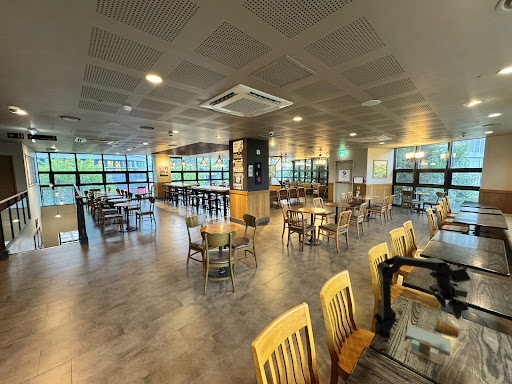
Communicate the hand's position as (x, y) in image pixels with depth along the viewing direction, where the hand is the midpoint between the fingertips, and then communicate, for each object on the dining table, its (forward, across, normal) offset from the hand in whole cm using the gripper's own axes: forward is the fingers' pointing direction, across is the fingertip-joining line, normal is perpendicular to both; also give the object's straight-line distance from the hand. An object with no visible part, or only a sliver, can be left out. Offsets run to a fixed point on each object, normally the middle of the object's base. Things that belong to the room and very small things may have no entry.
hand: (450, 313), depth 105 cm
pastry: (+16, +8, +1) cm, 18 cm away
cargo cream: (+10, -13, +17) cm, 24 cm away
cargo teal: (+9, -8, +23) cm, 26 cm away
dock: (+12, -2, +14) cm, 19 cm away
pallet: (+12, -11, +21) cm, 26 cm away
